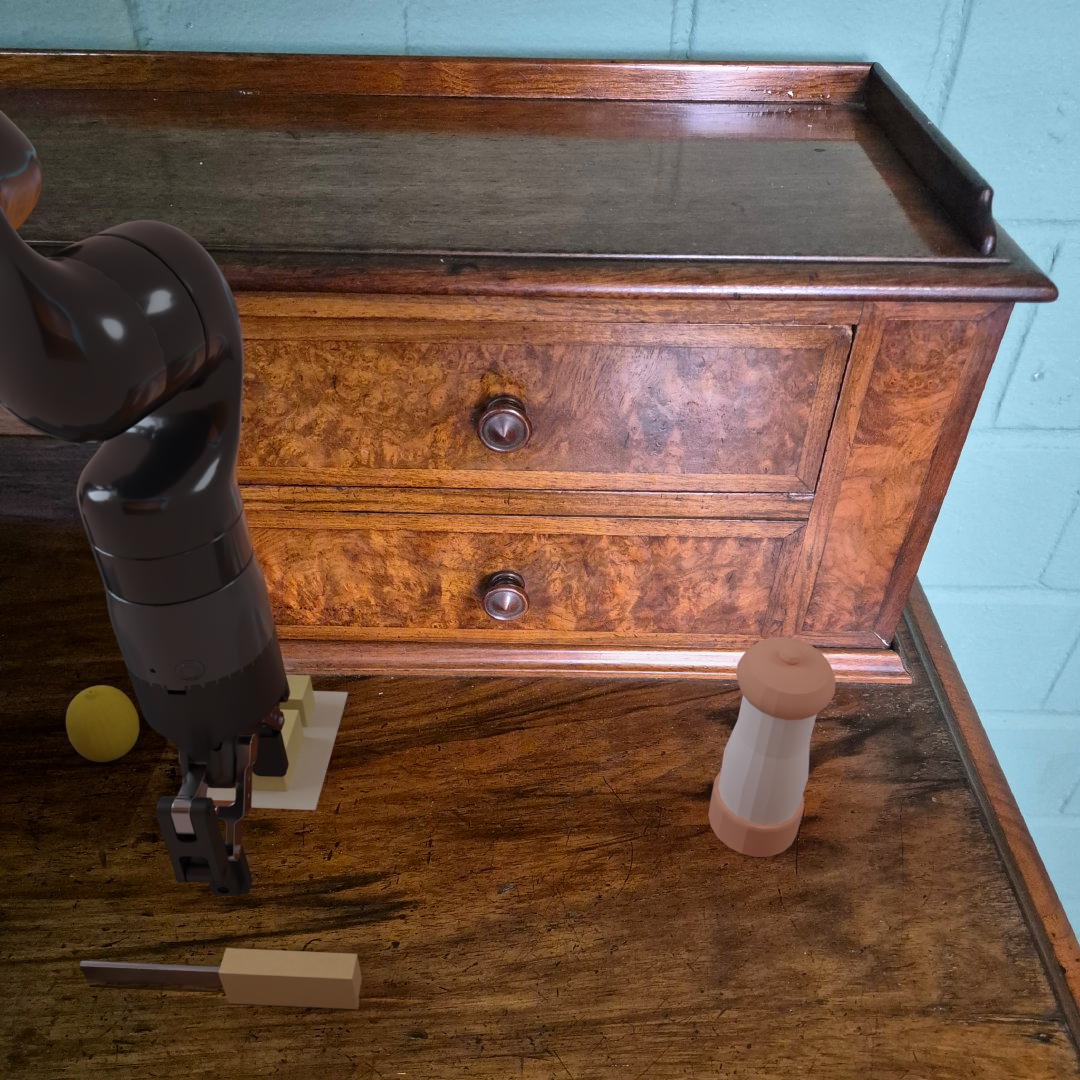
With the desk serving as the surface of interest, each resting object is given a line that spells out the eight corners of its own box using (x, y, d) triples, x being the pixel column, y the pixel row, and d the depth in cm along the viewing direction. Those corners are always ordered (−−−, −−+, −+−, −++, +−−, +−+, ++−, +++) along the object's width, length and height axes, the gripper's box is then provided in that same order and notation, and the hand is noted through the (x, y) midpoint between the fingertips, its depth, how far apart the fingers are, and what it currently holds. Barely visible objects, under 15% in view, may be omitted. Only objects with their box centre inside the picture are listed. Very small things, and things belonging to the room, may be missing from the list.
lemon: (69, 756, 83) (42, 692, 78) (129, 722, 86) (106, 658, 81) (100, 792, 80) (73, 726, 75) (160, 755, 83) (138, 690, 78)
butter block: (233, 789, 79) (226, 761, 77) (254, 735, 84) (247, 707, 82) (287, 791, 79) (281, 764, 77) (304, 737, 84) (299, 709, 82)
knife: (85, 997, 66) (69, 966, 63) (96, 972, 67) (81, 941, 65) (358, 1009, 65) (352, 979, 63) (363, 984, 67) (357, 953, 64)
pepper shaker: (726, 864, 75) (764, 693, 64) (696, 791, 81) (725, 622, 69) (812, 849, 76) (863, 678, 65) (776, 778, 82) (817, 610, 71)
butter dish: (196, 811, 78) (194, 804, 78) (243, 693, 89) (242, 687, 89) (316, 816, 78) (315, 809, 78) (349, 697, 89) (348, 691, 88)
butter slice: (257, 725, 85) (251, 697, 83) (266, 700, 87) (260, 673, 85) (307, 727, 85) (302, 699, 83) (315, 702, 87) (310, 675, 85)
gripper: (173, 545, 55) (227, 738, 64) (66, 732, 43) (151, 933, 53) (303, 548, 54) (338, 741, 64) (230, 736, 43) (285, 937, 52)
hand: (253, 827), depth 58 cm, fingers open, 8 cm apart
